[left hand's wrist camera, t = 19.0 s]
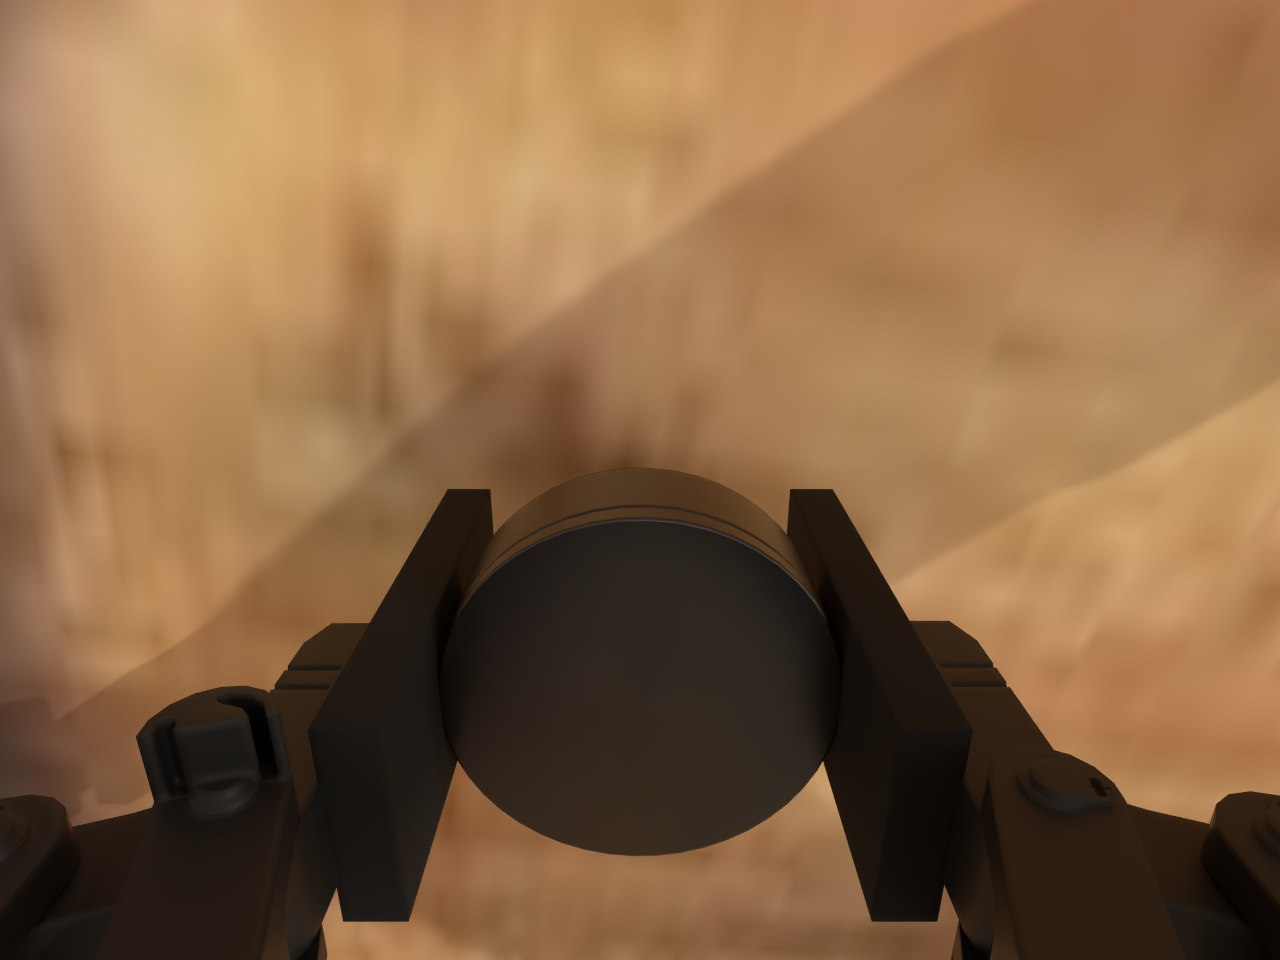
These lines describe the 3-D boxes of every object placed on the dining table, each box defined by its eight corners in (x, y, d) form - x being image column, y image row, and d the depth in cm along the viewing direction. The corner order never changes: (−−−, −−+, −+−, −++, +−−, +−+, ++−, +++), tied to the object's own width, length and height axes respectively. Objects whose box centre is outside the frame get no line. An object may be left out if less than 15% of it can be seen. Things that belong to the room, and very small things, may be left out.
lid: (615, 390, 11) (610, 430, 9) (891, 611, 12) (930, 682, 11) (395, 649, 13) (357, 724, 11) (660, 822, 14) (663, 913, 12)
